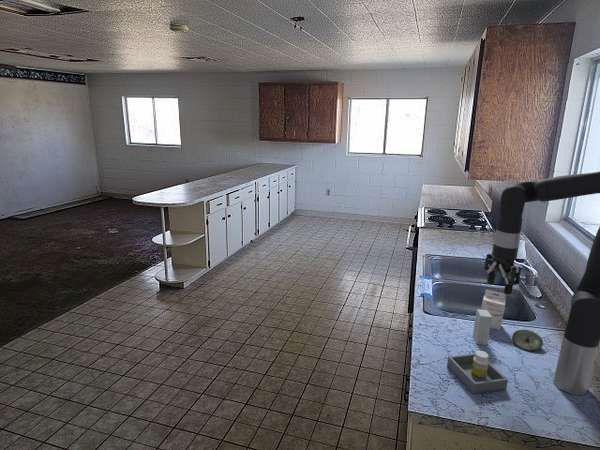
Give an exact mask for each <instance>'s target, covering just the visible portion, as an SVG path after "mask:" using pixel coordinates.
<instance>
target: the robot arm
mask: <svg viewBox="0 0 600 450" xmlns="http://www.w3.org/2000/svg"><path fill="white" fill-rule="evenodd" d="M597 194H600V171H595V172H587V173H576V174H575V173H574V174H573V173H572V174H566V175H565V174H564V175H558V176H552V177H548V178H542V179H539V180H531V181H530V180H529V181H518V182H515V183H510V184H509V185H507V186H506V187H505V188H504V189H503V191H501V195H500V204H499V217H498V220H497V225H496V231H495V234H494V239H493V243H492V244H493V245H492V250H491V251H492V252H491V253H488V254H487V253H486V256H485V257H486V258H485V261H484V267H483V268H484V269H483V270H485V271H487V278H486V279H487V280H486V283H487V284H488V285H493V284H495V277H496V274H495V273H497V272H498V273H499V274H501V276H502V278H504V280H505V281H504V282H505V284H504V289H503V290H504V291H503V293H504V294H506V296H507V295H511V294H512V292H513V289H514V288H513V287H514V286H515V285H519V284H520V280H521V270H522V267H521V266H515V263H514V262H515V260H517V258H518V252H519V248H520V243H521V242H520V241H521V232H522V231H521V230H522V227H523V226H522V225H523V213H524V208H525V203H532V202H551V201H558V200H564V199H571V198H578V197H581V196H582V197H583V196H584V197H585V196H589V195H590V196H591V195H597ZM595 234H596V235H595V237H594V239H593V242H592V245H591V247H590V251H589V253H588V254H589V255H588V258H587V263H586V267H585V271H584V273H583V275H582V277H581V280H580V281H579V283H578V286H577V287H576V289H575V290H574V292H573V294H572V296H571V299H570V310H569V315H568V318H567V323H566V326H565V329H564V332H563V337H562V341H561V346H560V351H559V355H558V359H557V363H556V369H555V371H554V375H553V383H554V385H555V387H557V388H558V389H560V390H561V391H563V392H566V393H568V394H571V395H574V396H575V395H576V396H582V395H585V394H587V392H588V391H590V389H591V385H592V384H591V383H592V380H593V376H594V372H595V370H596V369H595V368H596V364H595V360H596V356H597V353H598V348H599V345H600V226H599V227H598V229H597V232H596V233H595Z"/></svg>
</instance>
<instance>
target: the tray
mask: <svg viewBox="0 0 600 450" xmlns="http://www.w3.org/2000/svg"><path fill="white" fill-rule="evenodd" d="M475 353H476V352H475ZM475 353H469V354H466V353H465V354H460V355H458V354H457V355H451V356H447V363H446V367H447V368H448V369H449V371H450V372H451V373H452V374H454V376H455V377H456V378H457V379H458V380H459V381H460V383H462V385H463V386H464V387H465V388H466V389H467V390H468V391H469V392H470V393H471V394H472V395H473V396H476V395H482V394H488V393H489V394H490V393H497V392H504V391H507V388H508V384H509V383H508V382H509V379H508V378H507V377H506V376H505V375H503V374H502V373H501V372H500V371H499V369H497V368H496V367H494V365H493V364H492V363H490V362H489V363H488V369H487V375H486V378H485V379H484V380H479V379H476V378H474V377H473V376H472V375H471V370H472V364H473V358H474V357H475Z"/></svg>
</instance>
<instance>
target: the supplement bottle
mask: <svg viewBox="0 0 600 450" xmlns="http://www.w3.org/2000/svg"><path fill="white" fill-rule="evenodd" d="M489 361H490V360H489V354H488V352H485V351H483V350H477V351H475V357H474V358H473V364H472V370H471V375H472V376H473V377H474V378H476V379H479V380H484V379H485V378H486V375H487V369H488V363H490V362H489Z"/></svg>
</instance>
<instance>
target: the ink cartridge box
mask: <svg viewBox="0 0 600 450" xmlns="http://www.w3.org/2000/svg"><path fill="white" fill-rule="evenodd" d="M506 298H507V295H506V294H504V292H500V291H497V290H496V291H495V290H490V289H485V292H484V295H483V299H482V302H481V308H480V310H488V312H489V313H490V315H491V316H492V321H491V327H490V329H494V330H495V329H496V330H498V331H501V327H502V324H503V318H504V314H505V308H506V303H507V302H506V300H507V299H506Z"/></svg>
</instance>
